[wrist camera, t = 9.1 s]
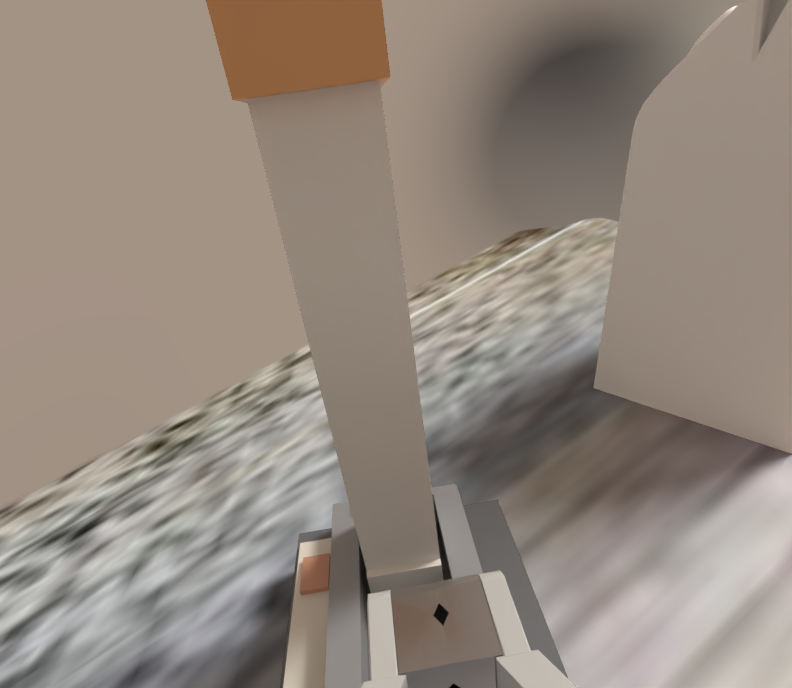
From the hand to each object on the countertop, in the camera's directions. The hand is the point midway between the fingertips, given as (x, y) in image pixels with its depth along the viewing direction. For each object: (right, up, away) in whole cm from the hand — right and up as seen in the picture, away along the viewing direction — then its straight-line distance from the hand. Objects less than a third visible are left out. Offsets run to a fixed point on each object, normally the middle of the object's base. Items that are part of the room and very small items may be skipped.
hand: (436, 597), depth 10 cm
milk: (+22, +3, +22) cm, 32 cm away
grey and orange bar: (-1, -4, +9) cm, 10 cm away
